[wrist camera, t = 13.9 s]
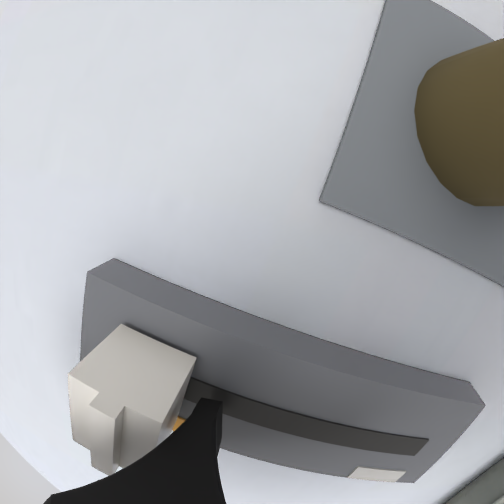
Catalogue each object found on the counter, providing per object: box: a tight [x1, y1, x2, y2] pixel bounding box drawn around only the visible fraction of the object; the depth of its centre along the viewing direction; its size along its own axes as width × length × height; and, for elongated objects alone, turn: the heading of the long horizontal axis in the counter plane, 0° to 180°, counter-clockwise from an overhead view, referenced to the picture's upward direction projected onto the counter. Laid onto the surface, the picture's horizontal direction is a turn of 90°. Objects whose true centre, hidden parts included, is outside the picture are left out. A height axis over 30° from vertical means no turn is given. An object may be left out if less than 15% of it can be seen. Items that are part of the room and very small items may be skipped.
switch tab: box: [68, 324, 197, 476], centre depth 9 cm, size 3×4×4 cm
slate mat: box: [319, 0, 504, 287], centre depth 9 cm, size 10×10×1 cm
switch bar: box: [80, 258, 486, 483], centre depth 12 cm, size 18×6×2 cm, turn 71°
